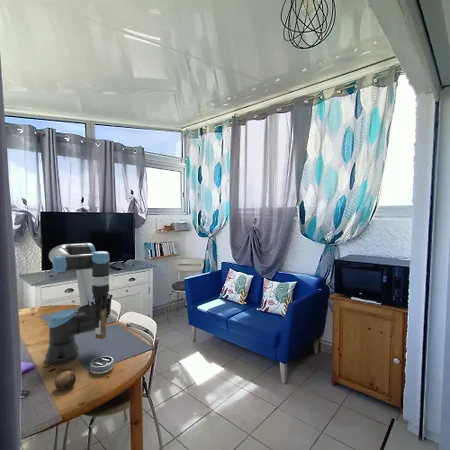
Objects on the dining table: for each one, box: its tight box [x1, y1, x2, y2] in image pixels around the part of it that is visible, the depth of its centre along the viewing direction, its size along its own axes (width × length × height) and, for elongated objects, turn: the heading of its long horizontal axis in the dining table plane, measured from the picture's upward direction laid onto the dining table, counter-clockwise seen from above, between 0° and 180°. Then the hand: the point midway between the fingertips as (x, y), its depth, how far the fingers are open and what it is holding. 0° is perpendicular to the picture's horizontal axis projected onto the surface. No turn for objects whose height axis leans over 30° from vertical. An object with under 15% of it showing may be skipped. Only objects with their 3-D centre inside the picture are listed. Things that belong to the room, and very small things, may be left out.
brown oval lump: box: [54, 370, 77, 391], centre depth 121 cm, size 8×8×6 cm
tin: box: [89, 355, 115, 375], centre depth 135 cm, size 10×10×4 cm
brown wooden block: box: [95, 308, 107, 340], centre depth 133 cm, size 2×4×14 cm, turn 69°
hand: (100, 332), depth 134 cm, fingers closed on brown wooden block, 2 cm apart
